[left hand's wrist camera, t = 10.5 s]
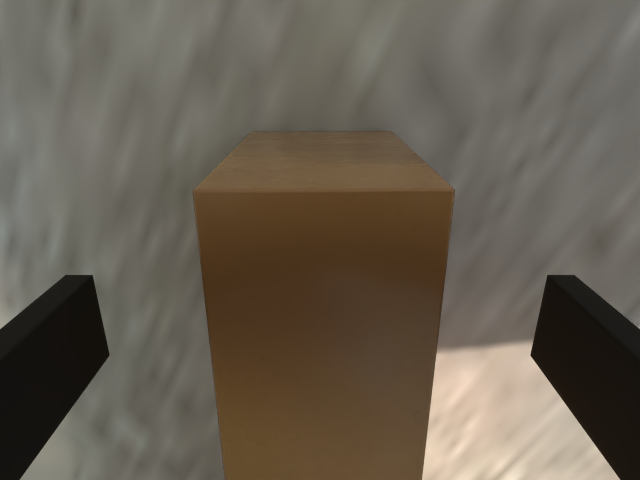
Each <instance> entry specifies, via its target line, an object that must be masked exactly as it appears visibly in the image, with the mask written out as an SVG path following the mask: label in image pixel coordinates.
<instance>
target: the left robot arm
mask: <svg viewBox="0 0 640 480" xmlns="http://www.w3.org/2000/svg"><path fill="white" fill-rule="evenodd" d="M108 357H109V350H108V346H107V341H106V336H105V332H104V327H103V322H102V317H101V313H100V308H99V303H98V299H97V294H96V289H95V285H94V280H93V275H65V276H64V277H63V278H62V279H60V280H59V281H58V282H57V283H56V284H54V285H53V286H52V287H51V288H50V289H48V290H47V291H46V292H45V293H44V294H42V295H41V296H40V297H39V298H37V299H36V300H35V301H34V302H33V303H31V304H30V305H29V306H28V307H27V308H25V309H24V310H23V311H22V312H21V313H19V314H18V315H17V316H16V317H15V318H13V319H12V320H11V321H10V322H9V323H7V324H6V325H5V326H4V327H2V328H1V329H0V480H20V478H21V477H22V476H23V474H24V473H25V471H26V470H27V469H28V467H29V466H30V465H31V463H32V462H33V460H34V459H35V458H36V456H37V455H38V453H39V452H40V451H41V449H42V448H43V447H44V445H45V444H46V442H47V441H48V440H49V438H50V437H51V436H52V434H53V433H54V431H55V430H56V429H57V427H58V426H59V424H60V423H61V422H62V420H63V419H64V418H65V416H66V415H67V413H68V412H69V411H70V409H71V408H72V406H73V405H74V404H75V402H76V401H77V400H78V398H79V397H80V395H81V394H82V393H83V391H84V390H85V389H86V387H87V386H88V384H89V383H90V382H91V380H92V379H93V377H94V376H95V375H96V373H97V372H98V371H99V369H100V368H101V366H102V365H103V364H104V362H105V361H106V360H107V358H108ZM531 357H532V358H533V360H534V361H535V362H536V364H537V365H538V366H539V368H540V369H541V371H542V372H543V373H544V375H545V376H546V377H547V379H548V380H549V382H550V383H551V384H552V386H553V387H554V389H555V390H556V391H557V393H558V394H559V395H560V397H561V398H562V400H563V401H564V402H565V404H566V405H567V406H568V408H569V409H570V411H571V412H572V413H573V415H574V416H575V418H576V419H577V420H578V422H579V423H580V424H581V426H582V427H583V429H584V430H585V431H586V433H587V434H588V435H589V437H590V438H591V440H592V441H593V442H594V444H595V445H596V447H597V448H598V449H599V451H600V452H601V453H602V455H603V456H604V458H605V459H606V460H607V462H608V463H609V465H610V466H611V467H612V469H613V470H614V471H615V473H616V474H617V476H618V477H619V478H620V480H640V329H639V328H638V327H636V326H635V325H634V324H633V323H631V322H630V321H629V320H628V319H627V318H625V317H624V316H623V315H622V314H621V313H619V312H618V311H617V310H616V309H615V308H613V307H612V306H611V305H610V304H609V303H607V302H606V301H605V300H604V299H603V298H601V297H600V296H599V295H598V294H596V293H595V292H594V291H593V290H592V289H590V288H589V287H588V286H587V285H586V284H584V283H583V282H582V281H581V280H580V279H578V278H577V277H576V276H575V275H547V280H546V285H545V289H544V294H543V299H542V303H541V308H540V313H539V317H538V322H537V327H536V332H535V336H534V341H533V346H532V350H531Z"/></svg>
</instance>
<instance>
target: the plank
mask: <svg viewBox="0 0 640 480" xmlns="http://www.w3.org/2000/svg"><path fill="white" fill-rule="evenodd" d="M454 195H455V190H454V188H453V187H452V186H450V185H449V184H448V183H447V182H446V181H445V180H444V179H443V178H442V177H441V176H440V175H438V174H437V173H436V172H435V171H434V170H433V169H432V168H431V167H430V166H429V165H428V164H426V163H425V162H424V161H423V160H422V159H421V158H420V157H419V156H418V155H417V154H416V153H414V152H413V151H412V150H411V149H410V148H409V147H408V146H407V145H406V144H405V143H404V142H402V141H401V140H400V139H399V138H398V137H397V136H396V135H395V134H394V133H393V132H391V131H342V132H250V133H249V134H248V135H247V136H246V137H245V138H244V139H243V140H242V141H241V142H240V143H239V144H238V145H237V146H236V147H235V148H234V149H233V151H232V152H231V153H230V154H229V155H228V156H227V157H226V158H225V159H224V160H223V161H222V162H221V163H220V164H219V165H218V166H217V167H216V168H215V169H214V170H213V171H212V172H211V173H210V174H209V175H208V176H207V177H206V178H205V179H204V180H203V181H202V182H201V183H200V184H199V185H198V186H197V187H196V188H195V189H194V190H193V200H194V209H195V217H196V226H197V235H198V244H199V253H200V262H201V271H202V280H203V289H204V297H205V306H206V315H207V324H208V333H209V342H210V351H211V360H212V368H213V377H214V386H215V395H216V404H217V413H218V422H219V431H220V440H221V448H222V457H223V466H224V475H225V480H422V474H423V465H424V456H425V448H426V439H427V430H428V422H429V413H430V404H431V396H432V387H433V378H434V369H435V361H436V352H437V343H438V335H439V326H440V317H441V309H442V300H443V291H444V282H445V274H446V265H447V256H448V248H449V239H450V230H451V221H452V213H453V204H454Z"/></svg>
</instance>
